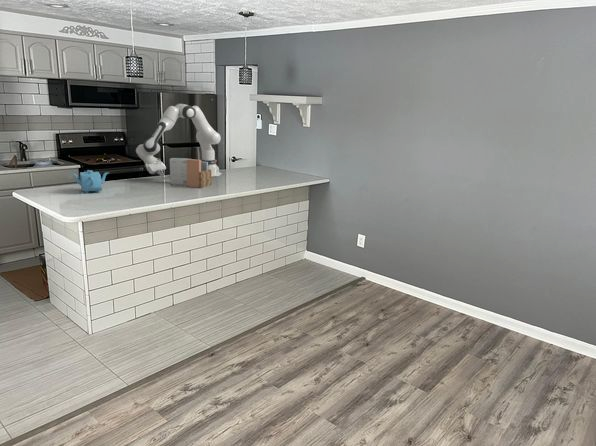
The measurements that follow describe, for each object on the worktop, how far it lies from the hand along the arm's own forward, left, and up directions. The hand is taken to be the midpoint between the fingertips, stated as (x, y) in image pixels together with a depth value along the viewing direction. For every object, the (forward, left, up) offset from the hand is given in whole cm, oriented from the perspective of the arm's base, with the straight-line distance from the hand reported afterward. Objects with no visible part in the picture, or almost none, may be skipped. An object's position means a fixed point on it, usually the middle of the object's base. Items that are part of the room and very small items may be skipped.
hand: (163, 175), depth 356 cm
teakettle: (+54, -24, -5) cm, 60 cm away
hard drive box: (0, +16, -5) cm, 17 cm away
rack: (0, +37, -5) cm, 37 cm away
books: (0, +31, -5) cm, 31 cm away
